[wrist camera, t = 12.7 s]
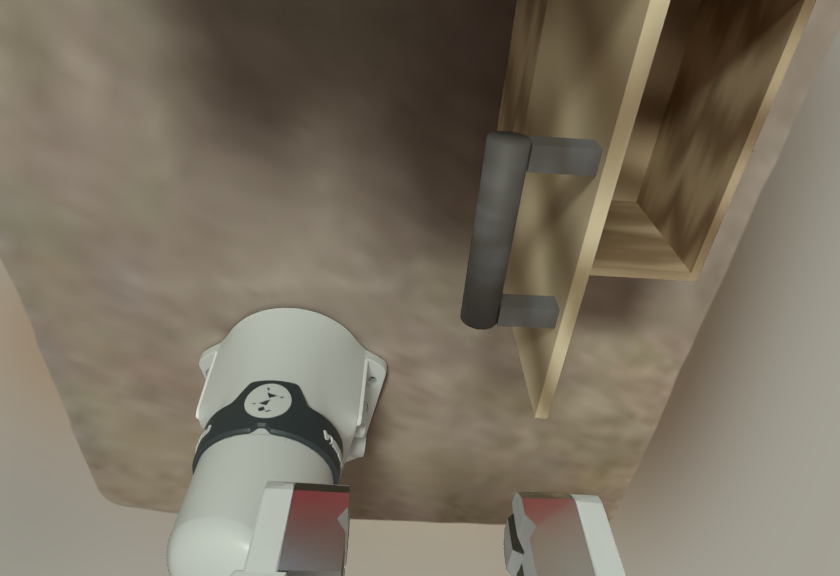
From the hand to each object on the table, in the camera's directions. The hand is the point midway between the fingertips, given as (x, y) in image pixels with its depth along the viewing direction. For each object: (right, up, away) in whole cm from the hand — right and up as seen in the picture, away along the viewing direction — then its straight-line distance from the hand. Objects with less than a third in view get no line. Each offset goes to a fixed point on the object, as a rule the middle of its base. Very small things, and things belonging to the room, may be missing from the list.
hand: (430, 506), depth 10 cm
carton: (+13, +19, +32) cm, 39 cm away
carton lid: (+6, +9, +16) cm, 20 cm away
